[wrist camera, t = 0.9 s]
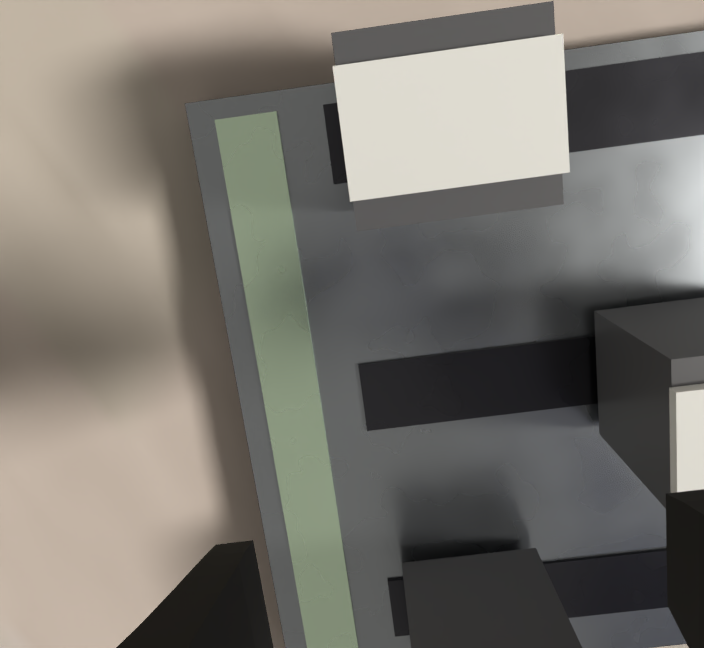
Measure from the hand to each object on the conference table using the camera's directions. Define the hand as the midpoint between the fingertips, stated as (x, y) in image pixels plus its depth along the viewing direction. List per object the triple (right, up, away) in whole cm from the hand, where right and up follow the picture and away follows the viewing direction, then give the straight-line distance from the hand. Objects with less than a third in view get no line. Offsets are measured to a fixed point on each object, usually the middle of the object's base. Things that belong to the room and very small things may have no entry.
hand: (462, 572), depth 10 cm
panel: (+7, +3, +9) cm, 12 cm away
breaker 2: (+2, -5, +10) cm, 11 cm away
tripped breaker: (+7, +3, +8) cm, 11 cm away
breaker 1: (0, +9, +6) cm, 11 cm away
